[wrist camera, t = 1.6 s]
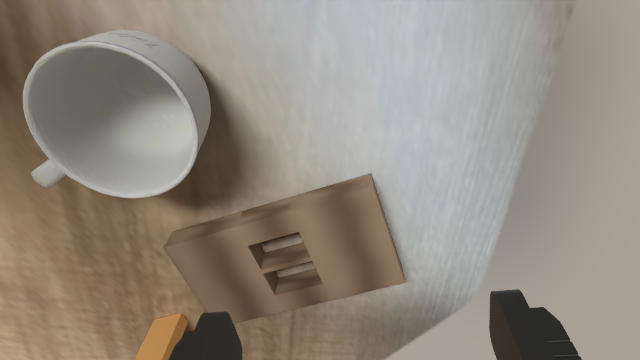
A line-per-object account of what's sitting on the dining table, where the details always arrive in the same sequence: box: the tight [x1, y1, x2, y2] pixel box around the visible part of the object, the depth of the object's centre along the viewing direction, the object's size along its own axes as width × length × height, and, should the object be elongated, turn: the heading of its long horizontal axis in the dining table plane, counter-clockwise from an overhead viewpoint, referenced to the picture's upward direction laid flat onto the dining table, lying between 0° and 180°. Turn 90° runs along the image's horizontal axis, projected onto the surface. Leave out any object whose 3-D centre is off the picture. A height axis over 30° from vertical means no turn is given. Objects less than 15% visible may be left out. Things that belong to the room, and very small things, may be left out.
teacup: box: [23, 30, 211, 198], centre depth 29 cm, size 14×11×8 cm
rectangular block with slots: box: [164, 174, 405, 323], centre depth 38 cm, size 20×11×2 cm, turn 110°
